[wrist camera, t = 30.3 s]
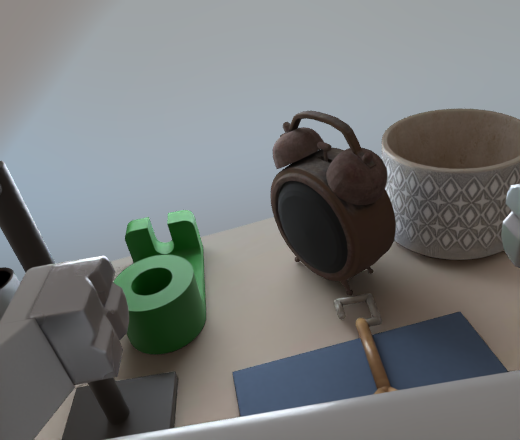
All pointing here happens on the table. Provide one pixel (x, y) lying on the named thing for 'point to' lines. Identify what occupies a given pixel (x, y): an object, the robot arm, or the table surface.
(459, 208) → the planter
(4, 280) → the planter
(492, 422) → the robot arm
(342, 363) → the mat
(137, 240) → the green bracket
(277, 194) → the alarm clock
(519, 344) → the table surface
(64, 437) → the rail
